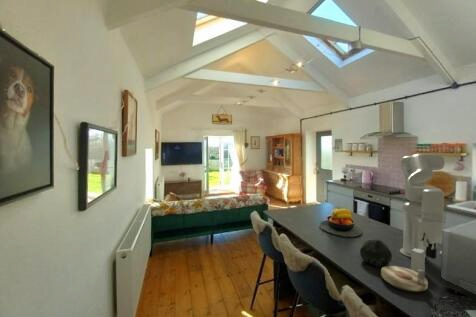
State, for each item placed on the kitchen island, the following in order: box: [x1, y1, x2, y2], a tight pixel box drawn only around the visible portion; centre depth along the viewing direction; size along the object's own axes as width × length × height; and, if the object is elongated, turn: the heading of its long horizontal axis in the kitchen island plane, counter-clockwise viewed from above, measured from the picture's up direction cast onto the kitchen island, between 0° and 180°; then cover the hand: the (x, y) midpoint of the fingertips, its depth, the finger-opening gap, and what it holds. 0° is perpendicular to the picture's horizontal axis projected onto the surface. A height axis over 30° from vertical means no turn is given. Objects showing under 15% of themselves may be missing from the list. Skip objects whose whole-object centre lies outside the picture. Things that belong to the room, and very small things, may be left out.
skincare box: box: [410, 248, 426, 273], centre depth 117 cm, size 6×4×12 cm
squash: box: [359, 239, 393, 268], centre depth 127 cm, size 14×15×15 cm
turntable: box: [380, 265, 429, 292], centre depth 109 cm, size 18×18×8 cm
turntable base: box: [387, 282, 421, 293], centre depth 109 cm, size 14×14×2 cm
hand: (430, 257), depth 103 cm, fingers closed
